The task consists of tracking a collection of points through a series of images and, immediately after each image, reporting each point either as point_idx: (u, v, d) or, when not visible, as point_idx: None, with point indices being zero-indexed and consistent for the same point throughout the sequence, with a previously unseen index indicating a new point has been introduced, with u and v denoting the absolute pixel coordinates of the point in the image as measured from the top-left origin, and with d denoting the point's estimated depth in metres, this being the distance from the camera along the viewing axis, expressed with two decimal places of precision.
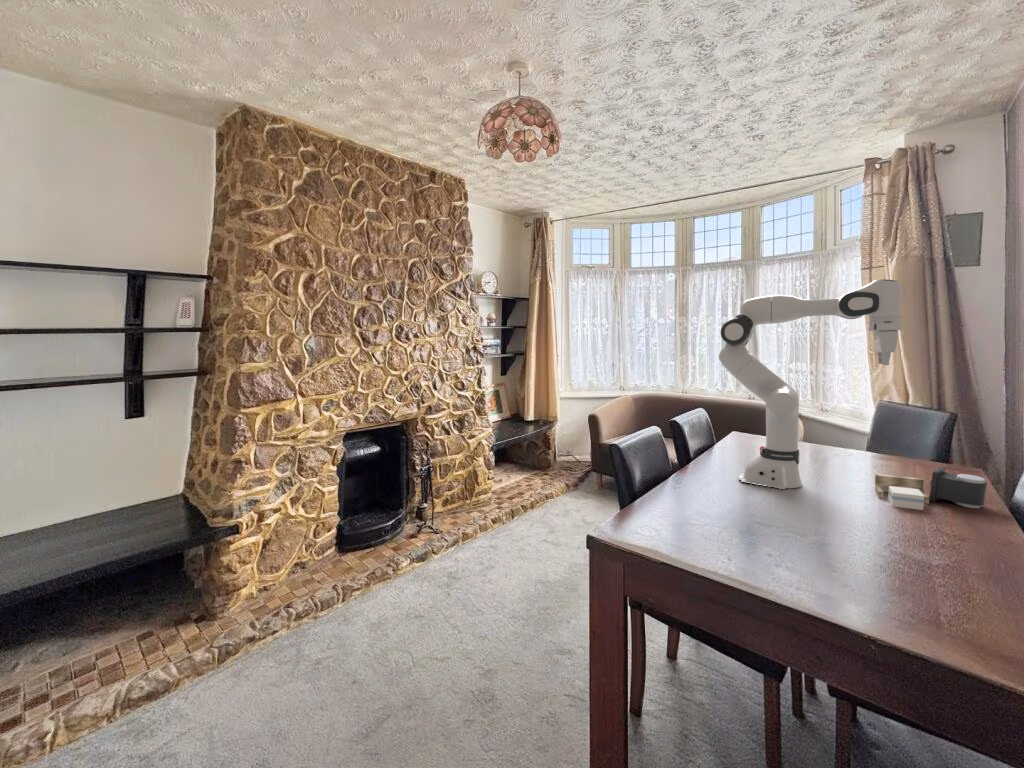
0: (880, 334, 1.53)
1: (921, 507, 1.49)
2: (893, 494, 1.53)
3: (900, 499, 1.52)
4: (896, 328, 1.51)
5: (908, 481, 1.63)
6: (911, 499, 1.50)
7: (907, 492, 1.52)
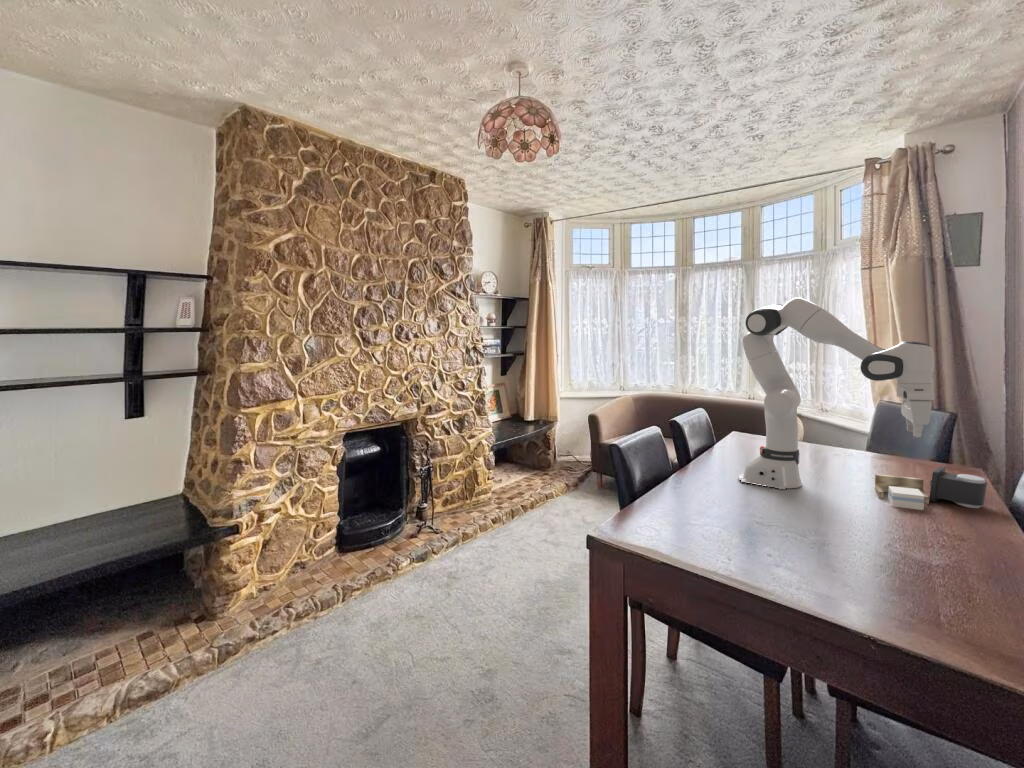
0: (911, 404, 1.38)
1: (921, 507, 1.49)
2: (893, 494, 1.53)
3: (900, 499, 1.52)
4: (929, 398, 1.36)
5: (908, 481, 1.63)
6: (912, 500, 1.50)
7: (908, 492, 1.52)
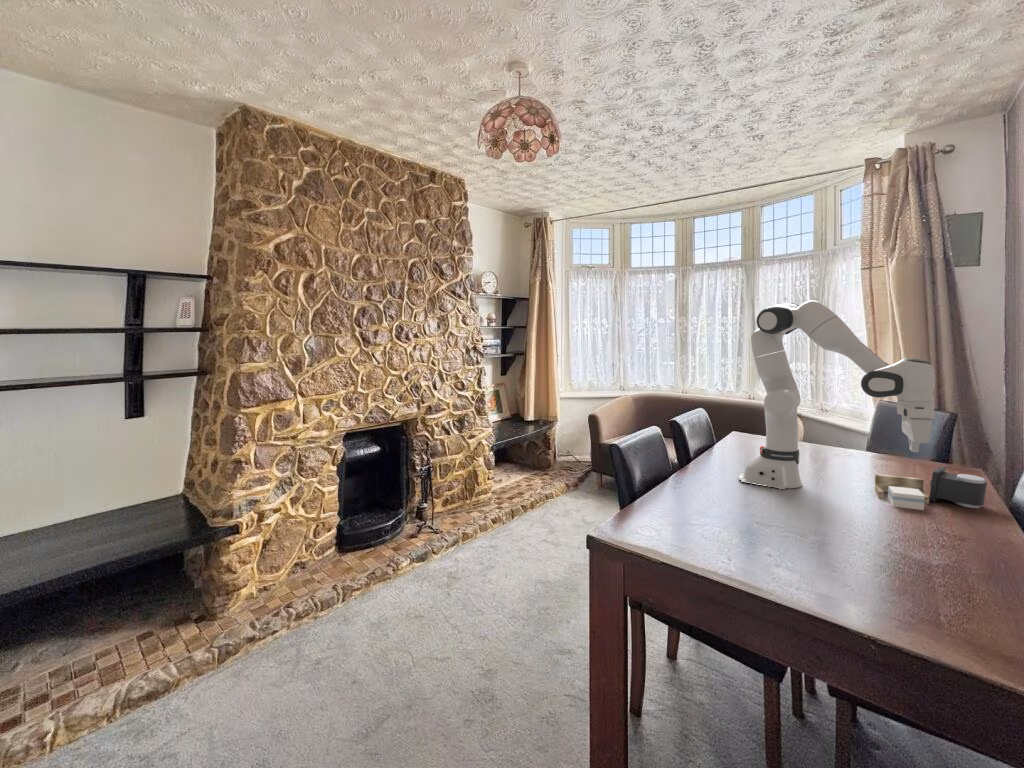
0: (911, 422, 1.38)
1: (922, 507, 1.49)
2: (894, 494, 1.53)
3: (901, 499, 1.52)
4: (930, 417, 1.36)
5: (908, 481, 1.63)
6: (912, 500, 1.50)
7: (908, 492, 1.52)
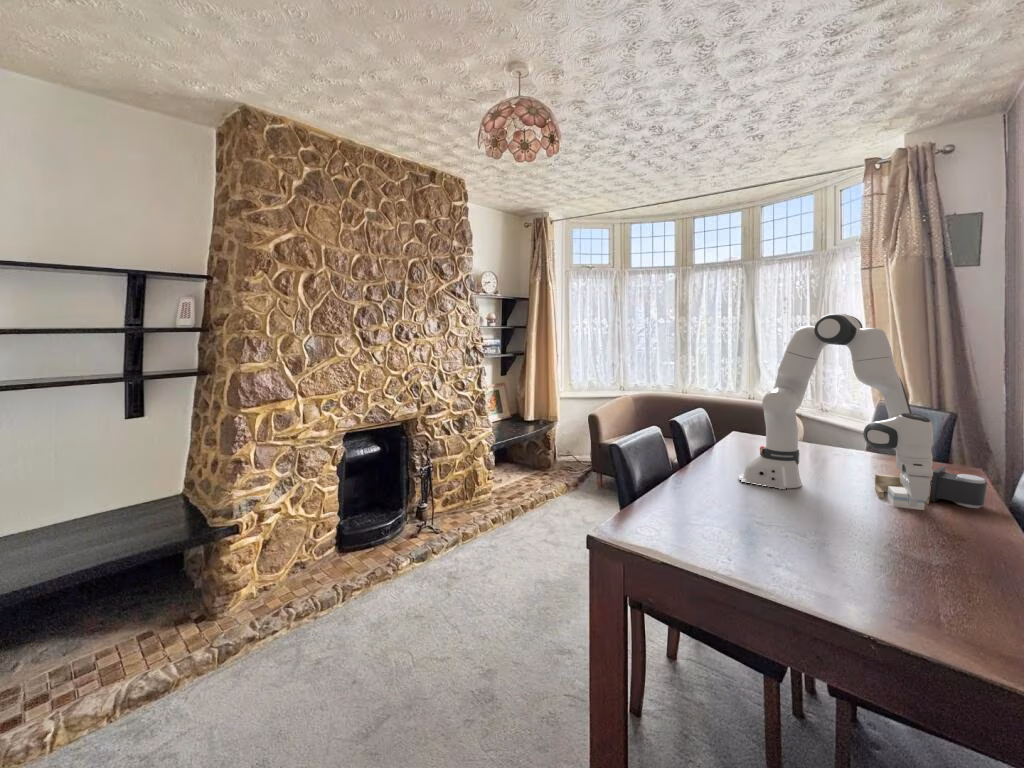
0: (910, 479, 1.39)
1: (922, 507, 1.49)
2: (894, 494, 1.53)
3: (901, 499, 1.52)
4: (928, 475, 1.37)
5: None
6: None
7: None
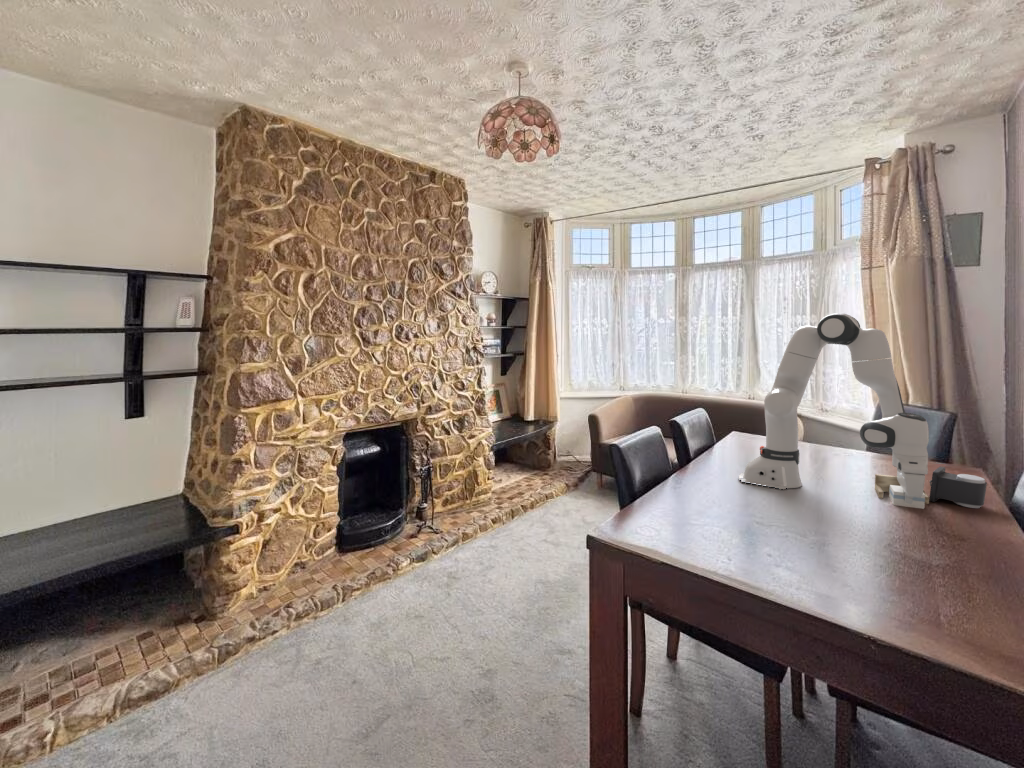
0: (905, 477, 1.43)
1: (922, 506, 1.50)
2: (894, 493, 1.54)
3: (901, 498, 1.53)
4: (923, 472, 1.41)
5: None
6: (913, 498, 1.51)
7: None
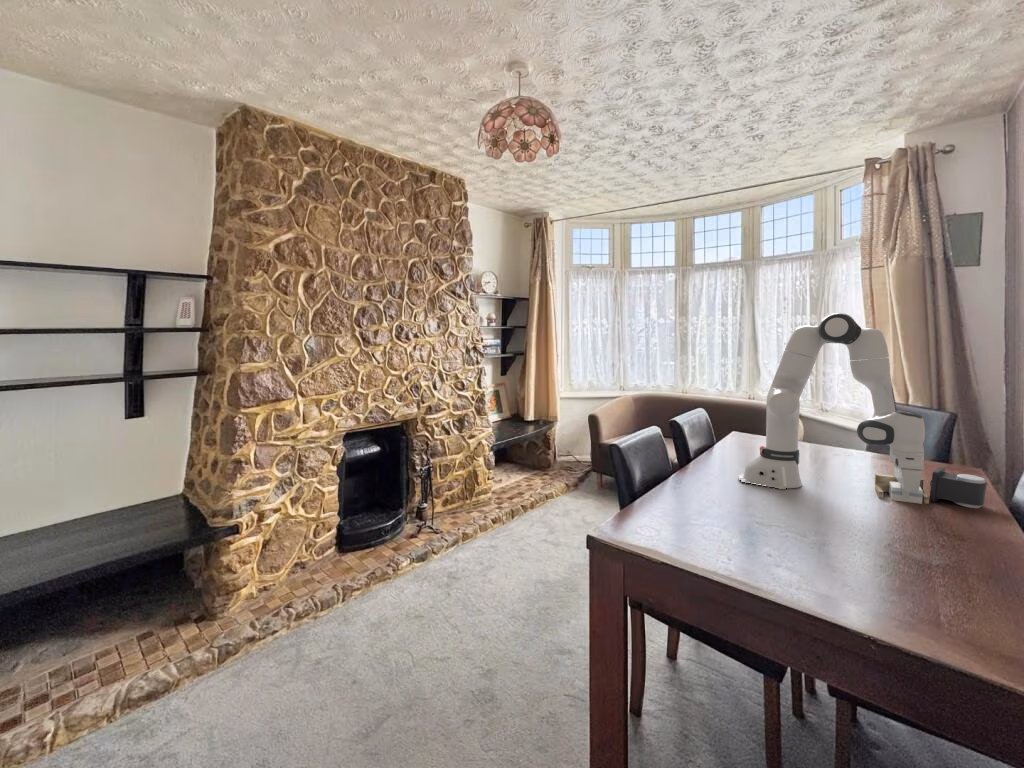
0: (902, 472, 1.48)
1: (920, 501, 1.55)
2: (893, 489, 1.58)
3: (899, 493, 1.57)
4: (919, 468, 1.46)
5: None
6: (911, 494, 1.56)
7: None
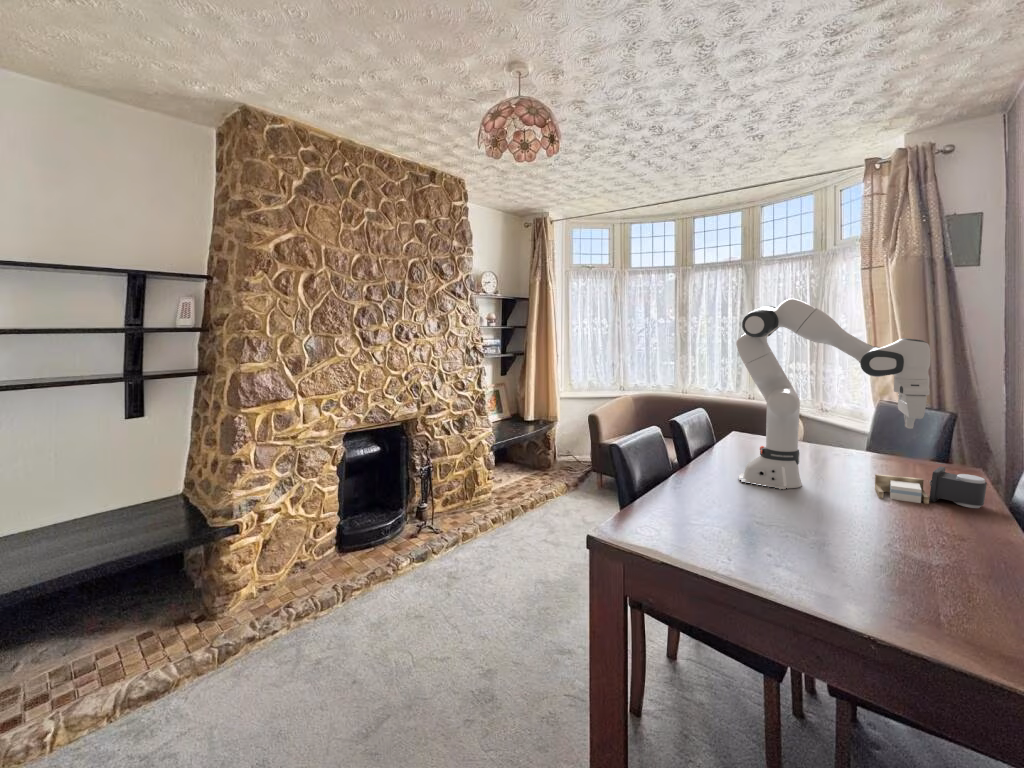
0: (907, 399, 1.43)
1: (919, 500, 1.55)
2: (892, 487, 1.59)
3: (898, 492, 1.58)
4: (925, 393, 1.41)
5: (908, 481, 1.63)
6: (909, 493, 1.57)
7: (906, 486, 1.58)
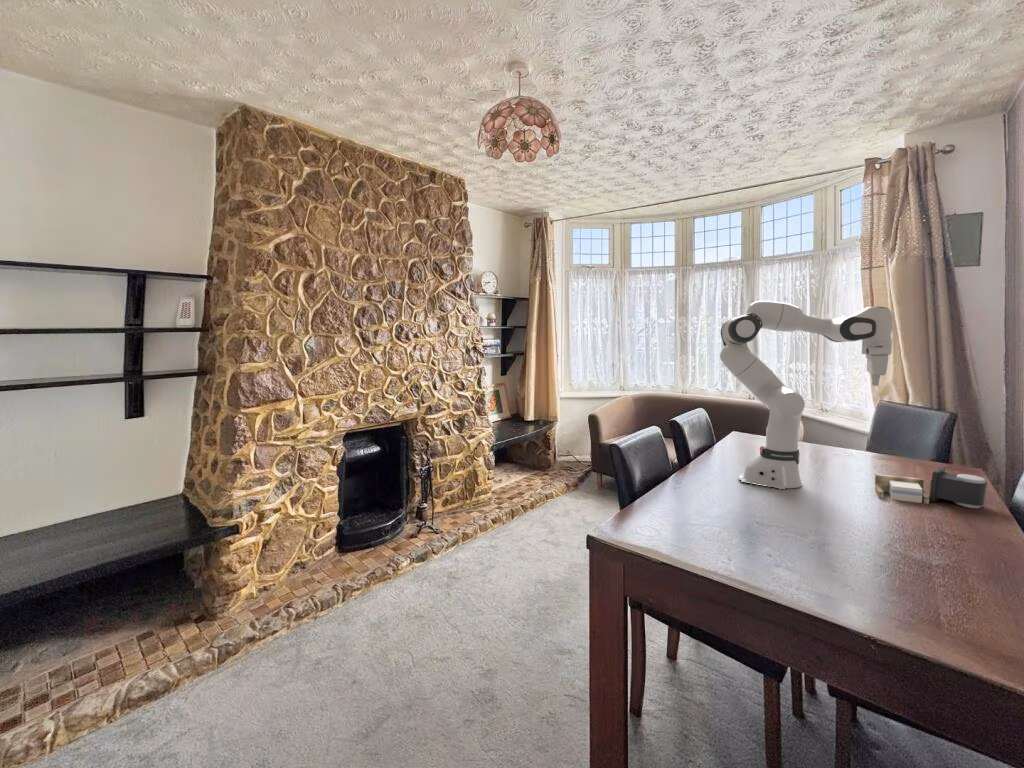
0: (872, 358, 1.64)
1: (920, 500, 1.55)
2: (893, 488, 1.59)
3: (899, 492, 1.58)
4: (887, 353, 1.62)
5: (908, 481, 1.63)
6: (910, 493, 1.56)
7: (907, 486, 1.58)
